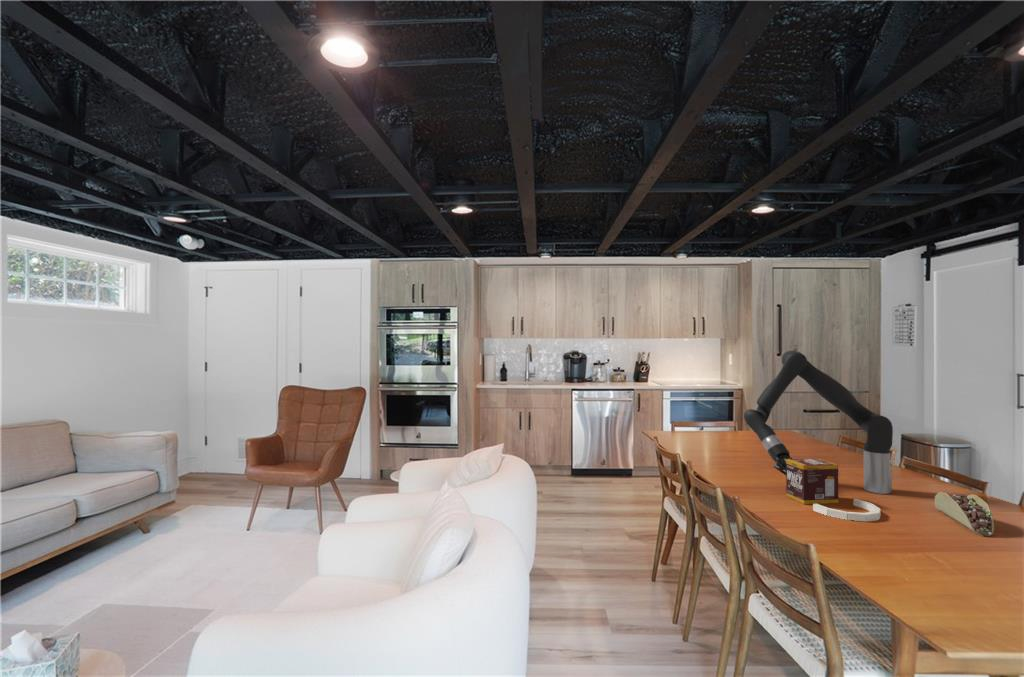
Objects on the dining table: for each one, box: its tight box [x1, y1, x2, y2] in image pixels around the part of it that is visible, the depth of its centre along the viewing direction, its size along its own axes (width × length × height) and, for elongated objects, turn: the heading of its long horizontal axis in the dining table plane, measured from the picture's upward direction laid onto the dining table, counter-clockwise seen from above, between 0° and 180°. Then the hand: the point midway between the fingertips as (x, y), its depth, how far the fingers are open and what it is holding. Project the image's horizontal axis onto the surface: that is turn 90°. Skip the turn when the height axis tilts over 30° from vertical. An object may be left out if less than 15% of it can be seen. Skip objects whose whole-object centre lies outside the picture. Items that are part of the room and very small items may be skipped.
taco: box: [934, 491, 995, 537], centre depth 167 cm, size 10×27×10 cm, turn 161°
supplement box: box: [785, 458, 839, 505], centre depth 192 cm, size 10×15×16 cm
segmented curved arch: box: [812, 498, 882, 523], centre depth 175 cm, size 23×14×2 cm, turn 107°
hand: (799, 482), depth 197 cm, fingers closed
